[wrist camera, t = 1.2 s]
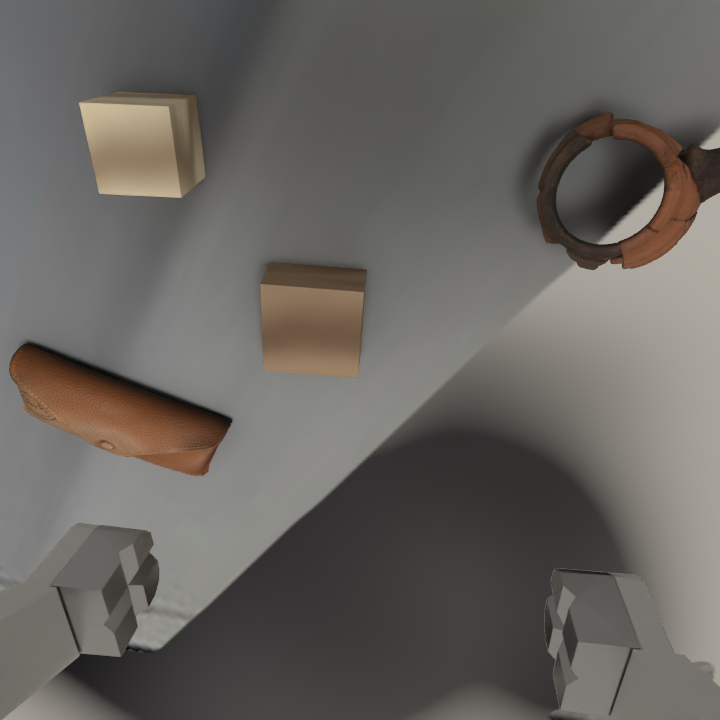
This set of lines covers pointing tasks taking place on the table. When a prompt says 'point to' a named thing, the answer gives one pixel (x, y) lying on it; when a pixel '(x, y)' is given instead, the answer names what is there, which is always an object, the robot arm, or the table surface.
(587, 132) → the brown piece
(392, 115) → the table surface
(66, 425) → the sunglasses case
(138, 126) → the beech block
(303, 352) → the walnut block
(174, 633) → the table surface
